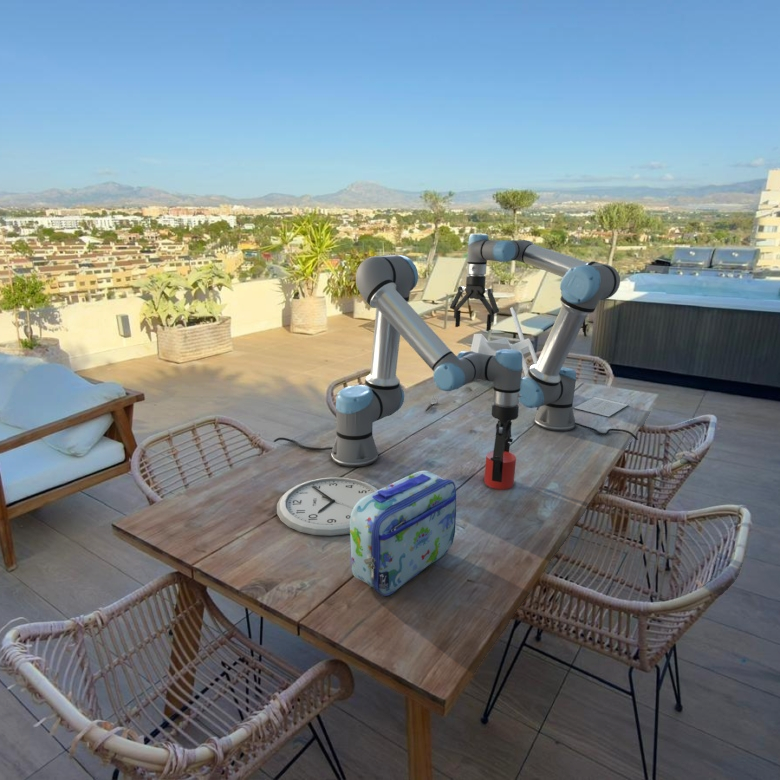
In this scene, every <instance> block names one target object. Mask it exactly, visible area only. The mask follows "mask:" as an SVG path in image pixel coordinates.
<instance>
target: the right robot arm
mask: <svg viewBox="0 0 780 780" xmlns="http://www.w3.org/2000/svg"><path fill="white" fill-rule="evenodd" d="M488 261H490V262H492V261H493V262H500V263H505V262H506V263H507V262H510V261H511V262H512V261H518V262H520V263H524V264H526V265H529V266H531V267H534V268H537V269H539V270H542V271H545V272H547V273H550V274H553V275H555V276H558V277H561V278H562V279H561V280H560V283H559V285H560V286H559V290H560V291H561V292H560V295H561V296H560V299H559V301H560V303H561V307H560V309H559V312H558V314H557V316H556V319H555V321H554V323H553V326H552V328H551V330H550V332H549V334H548V337H547V339H546V340H545V343H544V345H543V348H542V350H541V352H540V354H539V356H538V358H537V360H538V361H537V363H536V364H534V363H533V364H532V365H531V366H529V368H528V373H527V375H526V377H525V376H524V377H521V385H520V393H519V394H522V397H519V403H520V404H521V405H523V406H524V407H526V408H529V409H536V413H535V417H534V424H535V425H536V426H537V427H539V428H542V429H544V430H549V431H556V432H567V431H572V430H574V429H575V428H576V426H578V427H581V428H583V429H584V428H585V429H587V430H591V431H594V432H595V433H596V434H598V435H600V436H607V435H609V433H610V432H623V433H626V434H629V435H630V436H631V437H633V438H634V440H636V441H638V440H639V438H638V437H637V436H636V435H635V434H634V433H633V432H631V431H629V430H627V429H622V428H608V429H607V430H606V432H600V431H599V430H598V429H596V428H593V427H591V426H588V425H584V424H582V423H578V422H576V418H575V417H576V416H575V413H574V407H573V405H574V398H575V391H576V383H577V372H576V370H575V369H573V368H571V367H566V366H564V364H565V361H566V359H567V358H568V355H569V353H570V351H571V349H572V347H573V345H574V343H575V342H576V339H577V337H578V335H579V332H580V331H581V328H582V326H583V324H584V322H585V320H586V318H587V316H588V315H590V314H593V313H594V312H595V310H596V308H597V307H598V304H599V302H600V301H604V300H607V299H610V298H612V297H613V296H614V295H615V294H616V293H617V292H618V291H619V288H620V286H621V276H620V274H619V272H618V270H617V269H616V268H615V267H613V266H611V265H609V264H604V263H601V262H598V261H595V260H592V261H589V262H588V261H585V260H582V259H579V258H576V257H573V256H570V255H567V254H564V253H561V252H558V251H554V250H552V249H550V248H545V247H543V246H540V245H536V244H534V243H533V242H532V241H531V240H526V239H519V240H518V239H517V240H514V239H513V240H510V239H509V240H507V239H505V240H504V239H501V240H500V239H499V240H496V239H494V240H493V239H489V234H484V233H483V234H481V233H478V234H477V233H476V234H474V233H471V234H470V235H469V237H468V244H467V262H466V274H467V275H466V280H465V286H464V285H460V286H458V287H457V292H456V295H454V298H453V300H452V302H451V304H450V306H449V309H450V310H451V309H452V310H453V318H454V319H455V322H454V323H455V325H454V327H455V328H458V327H460V326H461V310H460V309H461V308H462V307H463V306H464V304H465V303H466V302H467V301H468V300H473V299H474V300H479V301H480V303H482V304H483V306H484V308H485V309H486V311H487V312H488V314H487V316H486V332H489V331H491V330H492V323H494V320H495V314H498V313H499V312H500V309H499V307H498V304H497V301H496V299H495V295H494V289H493V288H492V287H491V288H486V281H487V278H486V277H487V276H486V274H487V265H488ZM464 292H465V293H466V294H464V296H463V297H462V295H463V293H464ZM485 293H486V295H487V297H486V296H485ZM461 297H462V299H461ZM487 298H488V300H489V301H488V300H487Z"/></svg>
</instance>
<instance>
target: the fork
mask: <svg viewBox="0 0 780 780" xmlns="http://www.w3.org/2000/svg"><path fill="white" fill-rule="evenodd" d="M438 401H439V398H438V397H435V396H433V398H432V399H431V401H430V404H429V405H428V406H427V408H426V409H425V412H427V411H428V410H429V409H431V408H432V406H433V405H437V404H438Z"/></svg>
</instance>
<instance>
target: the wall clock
mask: <svg viewBox="0 0 780 780" xmlns="http://www.w3.org/2000/svg"><path fill="white" fill-rule="evenodd" d="M378 490H380V489H379V488H377V487H376V486H374V485H372V484H371V483H369V482H365V481H362V480H359V479H355V478H349V477H338V476H337V477H335V476H333V477H332V476H331V477H322V478H317V479H312V480H307V481H305V482H302V483H299V484H297V485H295V486H293V487H292V488H290V489H288V490H287V491H286V492H285V493H284V494H283V495H281V496H280V498H279V499H278V502H277V503H276V515H277V517H278V518H279V520H280V521H281V522H282V523H283V524H285V525H286V526H287V527H288V528H290V529H293V530H295V531H297V532H299V533H303V534H308V535H312V536H327V537H328V536H329V537H331V536H332V537H333V536H342V535H350V517H351V513H352V510H353V508H354V506H355V505H356V503H357V502H358V501H359V500H360V499H362V498H364V497H365V496H367V495H370V494H372V493H374V492H376V491H378Z"/></svg>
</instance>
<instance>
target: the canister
mask: <svg viewBox="0 0 780 780" xmlns="http://www.w3.org/2000/svg"><path fill="white" fill-rule="evenodd" d="M493 452H494V450H490V451H489V452H486V454H485V464H484V465H485V466H484V467H485V468H484V481H483V482H484V484H485V485H486V486H487V487H489V488H491V489H494V490H509V489H512V487H514V483H515V475H516V473H515V472H516V464H517V457H516V455H515V454H514V453H512V452H510V451H509V452H506V451H504V454H503V471H502V482H497V481H492V471H493V461H492V460H491V458H493Z"/></svg>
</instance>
